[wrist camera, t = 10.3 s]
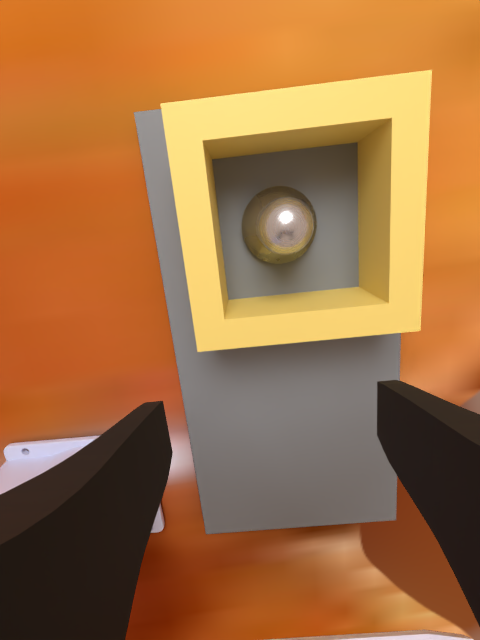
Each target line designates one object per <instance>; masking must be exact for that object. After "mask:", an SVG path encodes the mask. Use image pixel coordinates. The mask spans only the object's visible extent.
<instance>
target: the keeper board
mask: <svg viewBox="0 0 480 640" xmlns="http://www.w3.org/2000/svg"><path fill="white" fill-rule="evenodd" d="M134 115H135V121H136V127H137V133H138V139H139V145H140V151H141V156H142V162H143V168H144V174H145V180H146V186H147V192H148V197H149V203H150V209H151V215H152V221H153V227H154V233H155V238H156V244H157V250H158V256H159V262H160V268H161V274H162V279H163V285H164V291H165V297H166V303H167V309H168V315H169V320H170V326H171V332H172V338H173V344H174V350H175V355H176V361H177V367H178V373H179V379H180V385H181V391H182V396H183V402H184V408H185V414H186V420H187V426H188V432H189V437H190V443H191V449H192V455H193V461H194V467H195V473H196V478H197V484H198V490H199V496H200V502H201V508H202V514H203V519H204V525H205V531H206V534H216V533H229V532H243V531H256V530H269V529H283V528H296V527H310V526H323V525H336V524H350V523H362V522H375V521H376V522H377V521H390V520H396V502H397V474H396V473H395V471H394V469H393V468H392V466H391V464H390V463H389V461H388V459H387V457H386V454H385V452H384V450H383V448H382V446H381V443H380V441H379V439H378V436H377V381H388V380H398V381H400V343H401V333H393V334H382V335H372V336H361V337H351V338H340V339H330V340H319V341H308V342H298V343H287V344H277V345H266V346H256V347H245V348H235V349H224V350H214V351H203V352H197V345H196V338H195V332H194V325H193V318H192V312H191V305H190V298H189V292H188V285H187V278H186V271H185V265H184V258H183V251H182V245H181V238H180V231H179V225H178V218H177V211H176V205H175V198H174V191H173V185H172V178H171V171H170V164H169V158H168V151H167V144H166V138H165V131H164V124H163V118H162V111H161V109H157V110H149V111H141V112H134ZM212 164H213V173H214V181H215V190H216V198H217V207H218V215H219V224H220V232H221V241H222V250H223V258H224V267H225V275H226V284H227V292H228V300H232V299H242V298H252V297H262V296H272V295H282V294H292V293H302V292H312V291H322V290H332V289H342V288H352V287H359V248H358V142H356V143H347V144H339V145H330V146H322V147H313V148H305V149H296V150H288V151H279V152H271V153H262V154H254V155H245V156H237V157H228V158H220V159H212ZM274 186H287V187H291V188H294V189H296V190H298V191H300V192H301V193H302V194H304V195H305V196H306V197H307V198H308V200H309V201H310V202H311V204H312V206H313V208H314V211H315V214H316V220H317V228H316V233H315V237H314V239H313V242H312V243H311V245H310V247H309V248H308V249H307V251H306V252H305V253H304V254H302V255H301V256H300V257H298V258H297V259H295V260H293V261H291V262H287V263H282V264H274V263H269V262H266V261H263V260H261V259H259V258H258V257H256V256H255V255H254V254H253V253H252V252H251V251H250V250H249V248H248V247H247V245H246V243H245V241H244V238H243V235H242V218H243V214H244V211H245V209H246V207H247V205H248V203H249V202H250V201H251V199H252V198H253V197H254V196H255V195H257V194H258V193H259V192H261V191H262V190H264V189H267V188H270V187H274Z"/></svg>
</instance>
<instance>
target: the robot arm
mask: <svg viewBox="0 0 480 640" xmlns="http://www.w3.org/2000/svg"><path fill="white" fill-rule="evenodd" d="M377 436H378V439H379V441H380V443H381V446H382V448H383V450H384V452H385V454H386V457H387V459H388V461H389V463H390V464H391V466H392V468H393V469H394V471H395V473H396V474H397V476H398V477H399V479H400V481H401V482H402V484H403V486H404V487H405V489H406V490H407V492H408V493H409V495H410V496H411V498H412V500H413V501H414V503H415V505H416V506H417V508H418V509H419V511H420V512H421V514H422V516H423V517H424V519H425V520H426V522H427V524H428V525H429V527H430V529H431V530H432V532H433V533H434V535H435V537H436V539H437V541H438V542H439V544H440V546H441V548H442V550H443V552H444V554H445V556H446V558H447V560H448V562H449V564H450V566H451V568H452V570H453V572H454V574H455V576H456V578H457V580H458V582H459V584H460V586H461V588H462V590H463V593H464V595H465V597H466V599H467V601H468V603H469V605H470V607H471V609H472V611H473V613H474V615H475V618H476V620H477V622H478V624H479V626H480V415H479V414H477V413H474V412H472V411H469V410H467V409H464V408H462V407H459V406H457V405H455V404H452V403H450V402H448V401H445V400H443V399H441V398H439V397H436V396H434V395H432V394H430V393H427V392H425V391H423V390H421V389H418V388H416V387H414V386H411V385H409V384H407V383H404V382H401V381H398V380H388V381H377ZM25 448H26V449H28V450H29V451H27V450H26V449H25ZM172 453H173V452H172V447H171V442H170V437H169V431H168V426H167V421H166V416H165V410H164V405H163V401H157V402H146V403H144V404H142V405H140V406H139V407H138V408H136V409H135V410H133V411H132V412H131V413H130V414H128V415H127V416H126V417H124V418H123V419H122V420H120V421H119V422H118V423H117V424H115V425H114V426H113V427H111V428H110V429H109V430H107V431H106V432H105V433H103V434H102V435H100V436H89V437H77V438H66V439H54V440H43V441H32V442H20V443H11V444H9V445H8V446H7V447H5V448H4V455H5V458H6V462H5V463H4V464H3V465H2V466H1V467H0V640H125V637H126V632H127V627H128V622H129V618H130V613H131V608H132V603H133V598H134V594H135V589H136V585H137V580H138V576H139V571H140V567H141V563H142V559H143V556H144V552H145V548H146V545H147V542H148V539H149V536H150V533H155V532H161V531H162V530H163V528H164V525H165V522H164V517H163V513H162V508H161V503H160V502H161V499H162V496H163V493H164V490H165V487H166V483H167V480H168V475H169V470H170V464H171V458H172ZM266 640H474V639H471V638H469V637H467V636H465V635H461V634H454V633H446V632H438V631H430V630H412V631H396V632H380V633H364V634H348V635H331V636H315V637H299V638H283V639H266Z"/></svg>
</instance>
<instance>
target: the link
mask: <svg viewBox="0 0 480 640" xmlns="http://www.w3.org/2000/svg"><path fill="white" fill-rule="evenodd" d="M431 77H432V70H427V71H419V72H411V73H403V74H395V75H387V76H379V77H371V78H363V79H355V80H347V81H339V82H331V83H323V84H315V85H307V86H298V87H290V88H282V89H274V90H266V91H258V92H250V93H242V94H234V95H226V96H218V97H210V98H202V99H194V100H186V101H178V102H170V103H162V104H161V111H162V118H163V124H164V131H165V138H166V144H167V151H168V158H169V164H170V171H171V178H172V185H173V191H174V198H175V205H176V211H177V218H178V225H179V231H180V238H181V245H182V251H183V258H184V265H185V271H186V278H187V285H188V292H189V298H190V305H191V312H192V318H193V325H194V332H195V338H196V345H197V352H203V351H214V350H224V349H235V348H245V347H256V346H266V345H277V344H287V343H298V342H308V341H319V340H330V339H340V338H351V337H361V336H372V335H382V334H393V333H403V332H414V331H420V329H421V306H422V283H423V260H424V237H425V214H426V191H427V168H428V145H429V123H430V100H431ZM356 142H358V248H359V287H352V288H342V289H332V290H322V291H312V292H302V293H292V294H282V295H272V296H262V297H252V298H242V299H232V300H228V292H227V284H226V275H225V267H224V258H223V250H222V241H221V232H220V224H219V215H218V207H217V198H216V190H215V181H214V173H213V164H212V159H220V158H228V157H237V156H245V155H254V154H262V153H271V152H279V151H288V150H296V149H305V148H313V147H322V146H330V145H339V144H347V143H356Z"/></svg>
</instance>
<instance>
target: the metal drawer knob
mask: <svg viewBox="0 0 480 640" xmlns="http://www.w3.org/2000/svg"><path fill="white" fill-rule="evenodd" d="M316 228H317V220H316V214H315V211H314V208H313V206H312V204H311V202H310V201H309V200H308V198H307V197H306V196H305V195H304V194H302V193H301V192H300V191H298V190H296V189H294V188H291V187H287V186H274V187H270V188H267V189H264V190H262V191H261V192H259V193H258V194H257V195H255V196H254V197H253V198H252V199H251V201H250V202H249V203H248V205H247V207H246V209H245V211H244V214H243V218H242V235H243V238H244V241H245V243H246V245H247V247H248V248H249V250H250V251H251V252H252V253H253V254H254V255H255V256H256V257H258V258H259V259H261V260H263V261H266V262H269V263H274V264H282V263H287V262H291V261H293V260H295V259H297V258H298V257H300V256H301V255H302V254H304V253H305V252H306V251H307V249H308V248H309V247H310V245H311V243H312V242H313V239H314V237H315V233H316Z"/></svg>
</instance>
